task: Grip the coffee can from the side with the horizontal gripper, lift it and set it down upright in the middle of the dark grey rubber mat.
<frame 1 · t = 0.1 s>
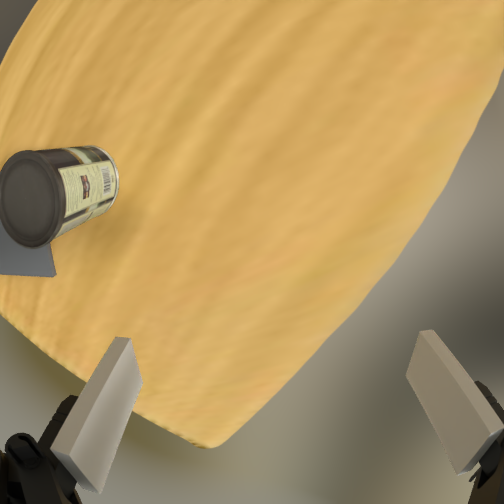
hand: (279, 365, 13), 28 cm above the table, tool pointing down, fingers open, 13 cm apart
rubber mat: (10, 223, 39), on the table
coffee can: (88, 182, 38), on the table
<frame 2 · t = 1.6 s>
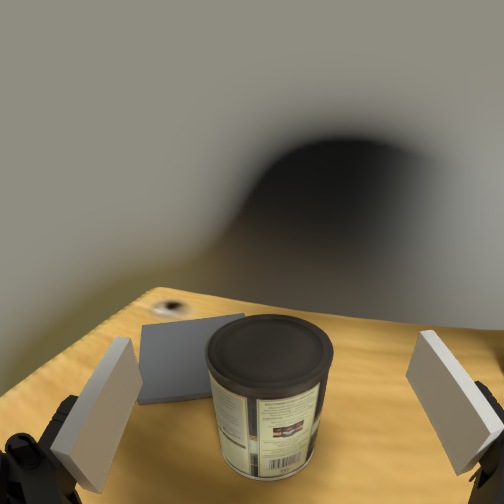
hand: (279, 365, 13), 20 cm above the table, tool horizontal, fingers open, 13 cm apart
rubber mat: (199, 355, 44), on the table
coffee can: (266, 444, 29), on the table
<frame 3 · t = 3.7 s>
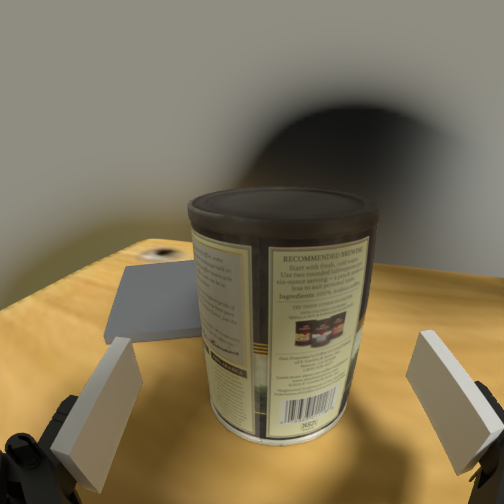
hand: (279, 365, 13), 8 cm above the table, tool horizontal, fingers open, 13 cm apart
rubber mat: (190, 294, 36), on the table
coffee can: (277, 394, 21), on the table
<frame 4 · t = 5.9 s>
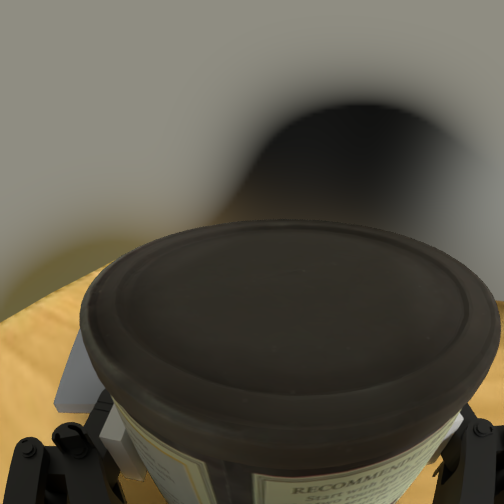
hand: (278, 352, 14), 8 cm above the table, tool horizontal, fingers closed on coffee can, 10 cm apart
rubber mat: (165, 340, 28), on the table
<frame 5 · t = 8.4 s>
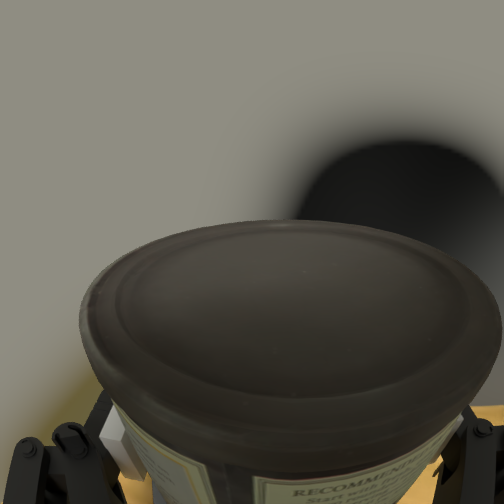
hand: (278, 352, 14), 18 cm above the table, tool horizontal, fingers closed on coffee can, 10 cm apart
when the fingers open (10 cm above the table, at t = 10.9 s): coffee can drops 1 cm, resting on rubber mat.
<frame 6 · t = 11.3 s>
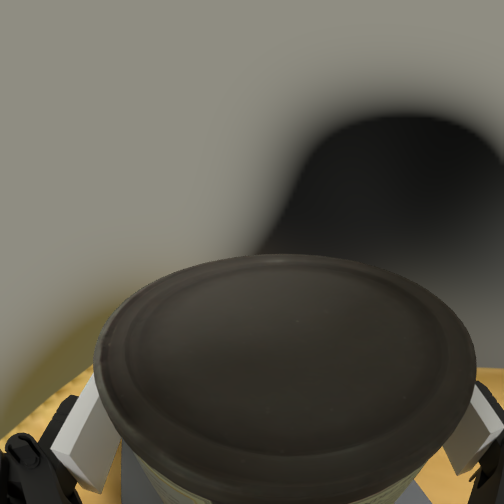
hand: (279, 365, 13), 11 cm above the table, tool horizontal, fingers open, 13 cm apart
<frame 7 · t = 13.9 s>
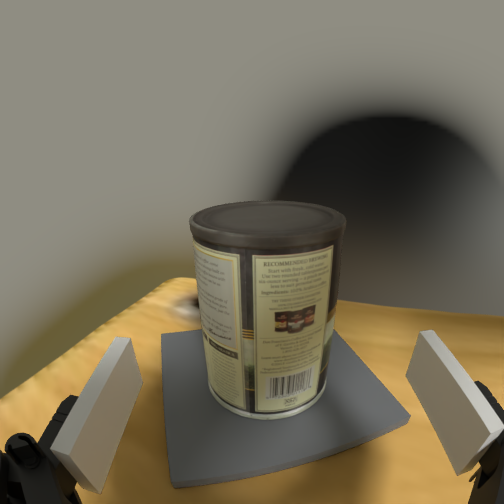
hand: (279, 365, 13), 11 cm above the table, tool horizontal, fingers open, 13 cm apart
rubber mat: (267, 384, 25), on the table
coffee can: (266, 378, 25), point 1 cm above the table, touching rubber mat
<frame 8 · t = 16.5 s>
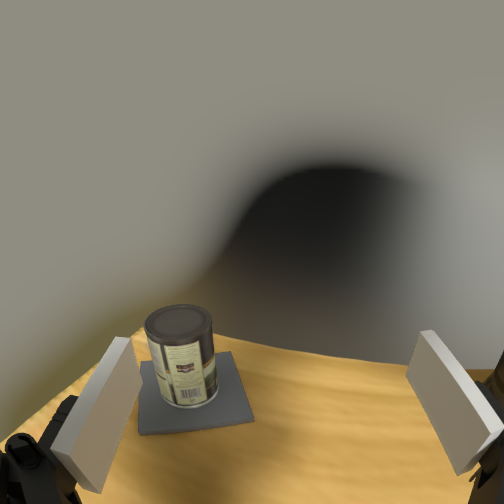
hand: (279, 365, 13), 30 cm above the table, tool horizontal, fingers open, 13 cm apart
rubber mat: (190, 391, 49), on the table
coffee can: (189, 388, 48), point 1 cm above the table, touching rubber mat
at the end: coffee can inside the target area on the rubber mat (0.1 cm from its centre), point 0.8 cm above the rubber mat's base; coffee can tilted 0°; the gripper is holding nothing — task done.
